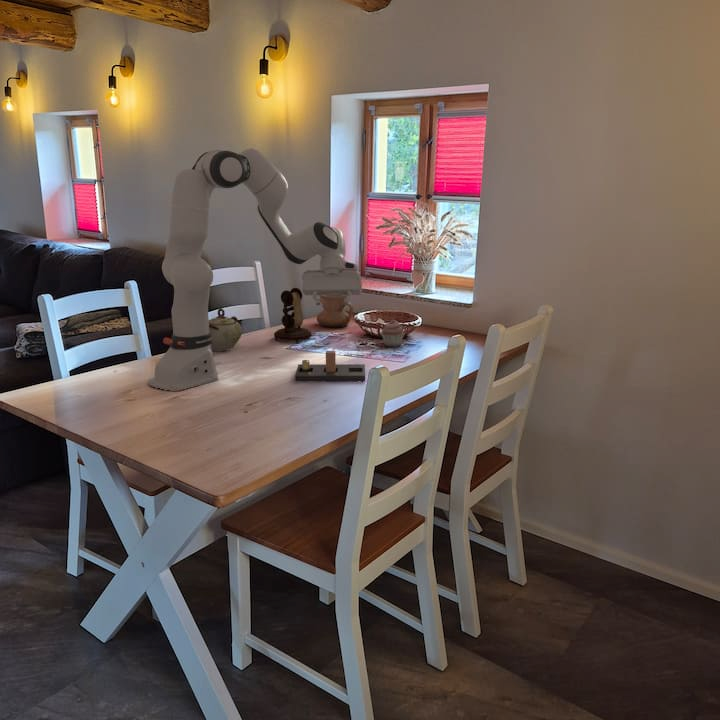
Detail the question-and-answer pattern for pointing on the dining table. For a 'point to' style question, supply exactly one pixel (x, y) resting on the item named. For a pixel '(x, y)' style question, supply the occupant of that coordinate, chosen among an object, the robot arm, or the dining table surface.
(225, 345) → the olive green rounded pot
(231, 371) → the dining table surface
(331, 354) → the terracotta peg
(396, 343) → the cupcake
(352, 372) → the grey peg board
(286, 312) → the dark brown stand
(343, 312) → the ceramic jug
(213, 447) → the dining table surface
